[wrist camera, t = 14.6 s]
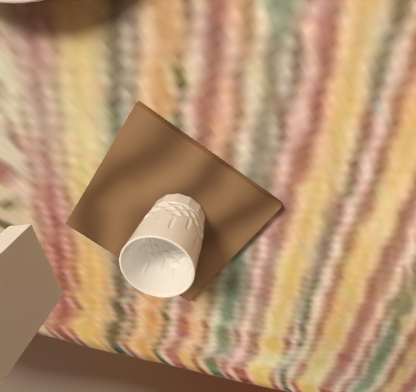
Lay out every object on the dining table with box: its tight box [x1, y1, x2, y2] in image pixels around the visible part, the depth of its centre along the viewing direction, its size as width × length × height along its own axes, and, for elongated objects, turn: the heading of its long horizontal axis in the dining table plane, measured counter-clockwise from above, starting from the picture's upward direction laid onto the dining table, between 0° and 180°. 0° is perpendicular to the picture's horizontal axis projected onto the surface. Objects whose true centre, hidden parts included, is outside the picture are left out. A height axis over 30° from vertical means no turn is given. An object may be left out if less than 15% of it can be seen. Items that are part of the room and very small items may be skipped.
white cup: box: [119, 193, 205, 298], centre depth 43 cm, size 8×8×10 cm
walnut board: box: [66, 101, 282, 302], centre depth 48 cm, size 20×20×1 cm
